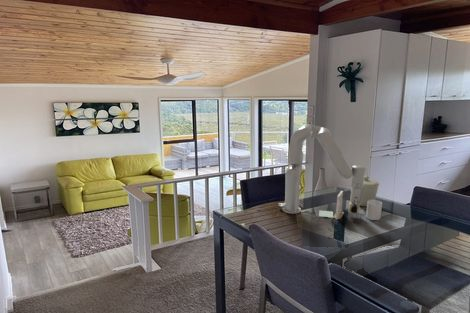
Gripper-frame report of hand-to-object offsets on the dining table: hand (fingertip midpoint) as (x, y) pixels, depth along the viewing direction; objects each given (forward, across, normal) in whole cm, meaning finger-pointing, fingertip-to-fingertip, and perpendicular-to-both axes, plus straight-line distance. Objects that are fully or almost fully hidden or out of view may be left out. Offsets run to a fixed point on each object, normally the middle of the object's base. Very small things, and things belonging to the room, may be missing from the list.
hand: (353, 210), depth 218 cm
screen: (+5, +1, -9) cm, 10 cm away
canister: (+5, -25, +9) cm, 27 cm away
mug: (+5, -3, +13) cm, 14 cm away
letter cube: (+1, 0, 0) cm, 1 cm away
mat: (+5, +1, -17) cm, 18 cm away
